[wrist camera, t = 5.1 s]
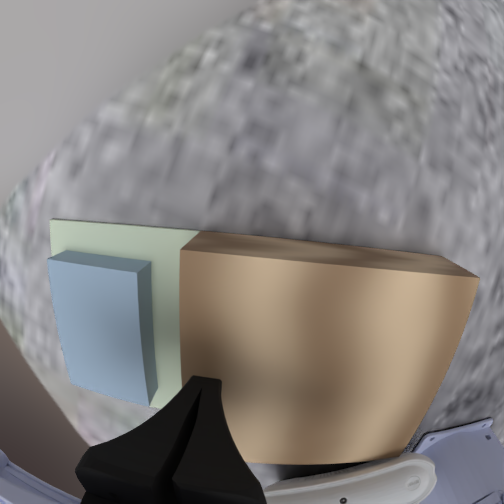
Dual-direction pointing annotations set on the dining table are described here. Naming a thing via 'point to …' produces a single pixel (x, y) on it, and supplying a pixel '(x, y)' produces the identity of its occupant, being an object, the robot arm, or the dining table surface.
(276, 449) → the light brown flat block
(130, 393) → the blue box
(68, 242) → the mat
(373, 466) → the photo printer
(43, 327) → the dining table surface
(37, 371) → the dining table surface
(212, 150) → the dining table surface
